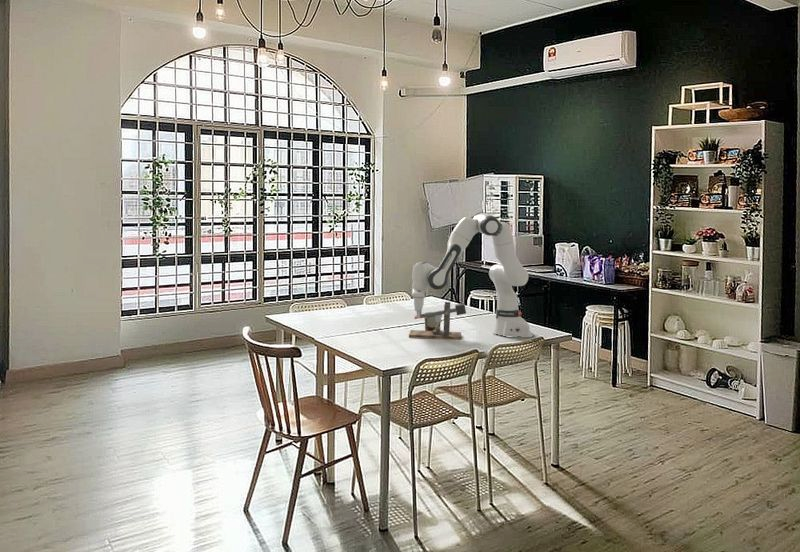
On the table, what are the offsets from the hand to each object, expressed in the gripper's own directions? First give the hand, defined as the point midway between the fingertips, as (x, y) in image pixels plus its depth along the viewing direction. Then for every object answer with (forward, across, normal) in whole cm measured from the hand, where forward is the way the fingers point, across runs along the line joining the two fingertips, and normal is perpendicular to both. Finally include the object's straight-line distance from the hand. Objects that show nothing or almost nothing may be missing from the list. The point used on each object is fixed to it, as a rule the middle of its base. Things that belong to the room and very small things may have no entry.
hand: (419, 316), depth 380 cm
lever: (+2, 0, +12) cm, 13 cm away
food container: (+11, -14, +6) cm, 19 cm away
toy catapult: (+11, 0, +9) cm, 14 cm away
